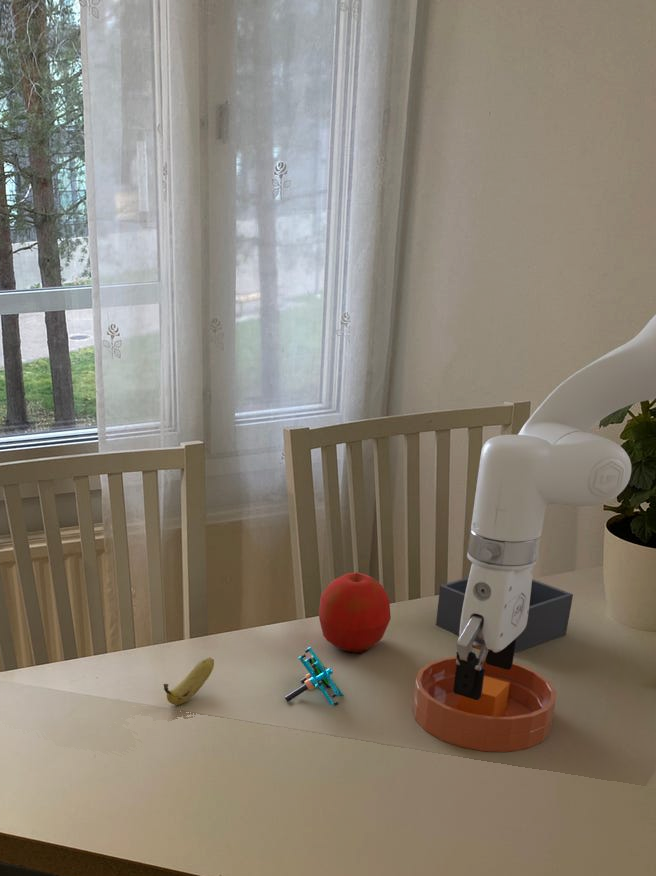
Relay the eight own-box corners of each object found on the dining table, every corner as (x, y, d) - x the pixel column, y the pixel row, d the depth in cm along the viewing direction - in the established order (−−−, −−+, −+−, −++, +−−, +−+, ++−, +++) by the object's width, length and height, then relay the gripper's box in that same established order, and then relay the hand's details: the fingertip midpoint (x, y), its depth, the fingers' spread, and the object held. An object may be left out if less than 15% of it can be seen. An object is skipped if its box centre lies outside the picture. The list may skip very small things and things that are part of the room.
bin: (495, 605, 145) (501, 567, 142) (566, 634, 135) (573, 594, 132) (435, 624, 139) (439, 585, 136) (504, 656, 129) (510, 614, 126)
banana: (204, 680, 124) (204, 654, 123) (219, 685, 123) (219, 658, 121) (157, 709, 117) (156, 682, 116) (172, 715, 116) (171, 687, 114)
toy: (470, 704, 116) (474, 672, 114) (505, 714, 113) (510, 682, 111) (455, 718, 113) (459, 686, 111) (491, 729, 110) (495, 697, 108)
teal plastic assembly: (350, 702, 113) (315, 650, 113) (303, 732, 115) (268, 681, 114) (345, 682, 125) (313, 636, 125) (302, 709, 126) (270, 663, 126)
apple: (315, 630, 138) (318, 559, 133) (383, 631, 137) (388, 559, 132) (319, 660, 129) (322, 585, 124) (391, 662, 128) (398, 585, 123)
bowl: (475, 678, 123) (480, 645, 121) (578, 730, 110) (585, 694, 108) (385, 711, 116) (388, 676, 114) (484, 771, 103) (490, 733, 101)
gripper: (507, 576, 95) (485, 718, 102) (562, 534, 107) (538, 663, 114) (439, 561, 99) (422, 698, 107) (499, 522, 111) (481, 648, 119)
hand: (482, 680), depth 111 cm, fingers open, 9 cm apart
